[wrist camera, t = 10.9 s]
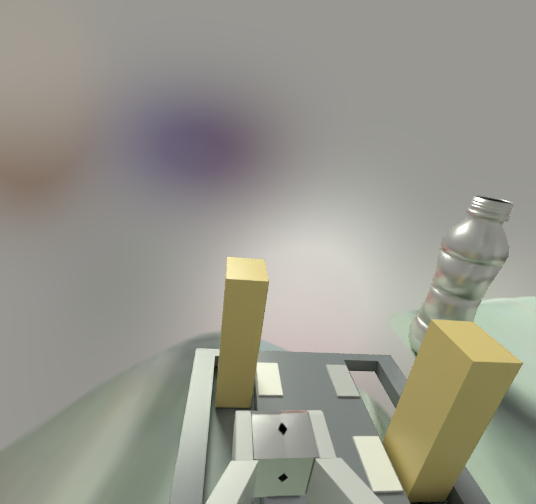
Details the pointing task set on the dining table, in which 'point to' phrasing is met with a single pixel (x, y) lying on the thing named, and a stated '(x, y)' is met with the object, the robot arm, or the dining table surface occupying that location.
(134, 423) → the dining table surface
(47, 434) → the dining table surface
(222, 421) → the dining table surface
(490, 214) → the plastic bottle
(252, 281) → the yellow bar
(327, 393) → the switch bank
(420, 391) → the yellow rectangular block
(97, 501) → the dining table surface
